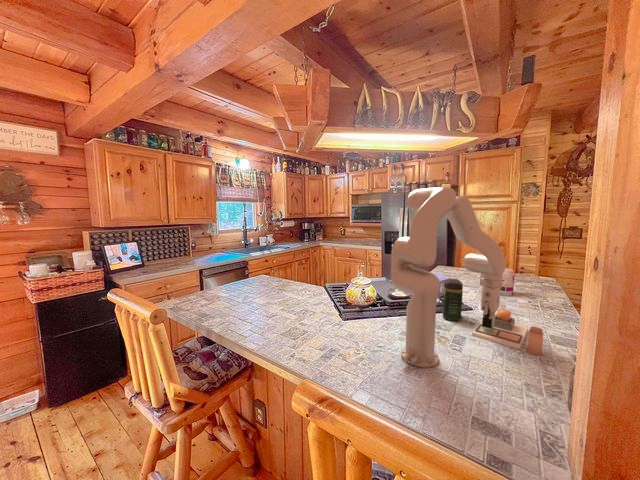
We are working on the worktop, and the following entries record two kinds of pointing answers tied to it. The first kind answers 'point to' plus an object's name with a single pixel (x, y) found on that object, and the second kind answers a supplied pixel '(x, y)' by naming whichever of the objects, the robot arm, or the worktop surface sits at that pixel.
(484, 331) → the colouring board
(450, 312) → the coffee jar
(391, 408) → the worktop surface
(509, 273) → the supplement can
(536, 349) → the peach cylinder
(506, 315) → the button
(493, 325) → the cylinder
